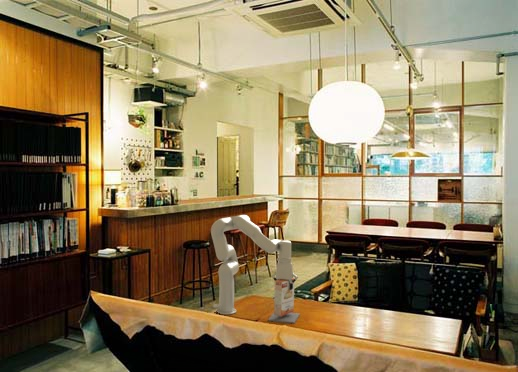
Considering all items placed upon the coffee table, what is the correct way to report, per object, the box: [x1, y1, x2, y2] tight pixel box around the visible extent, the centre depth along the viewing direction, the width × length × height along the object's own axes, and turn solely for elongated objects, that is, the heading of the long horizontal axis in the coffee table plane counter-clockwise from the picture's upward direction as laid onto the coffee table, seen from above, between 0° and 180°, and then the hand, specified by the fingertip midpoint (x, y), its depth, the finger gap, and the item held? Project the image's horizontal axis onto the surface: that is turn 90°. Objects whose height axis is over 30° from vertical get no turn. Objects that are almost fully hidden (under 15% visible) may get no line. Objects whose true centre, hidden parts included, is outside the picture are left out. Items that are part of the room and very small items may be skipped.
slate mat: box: [267, 312, 301, 325], centre depth 268 cm, size 16×18×1 cm
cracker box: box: [273, 277, 295, 316], centre depth 268 cm, size 14×6×21 cm, turn 143°
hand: (284, 289), depth 268 cm, fingers closed on cracker box, 7 cm apart
